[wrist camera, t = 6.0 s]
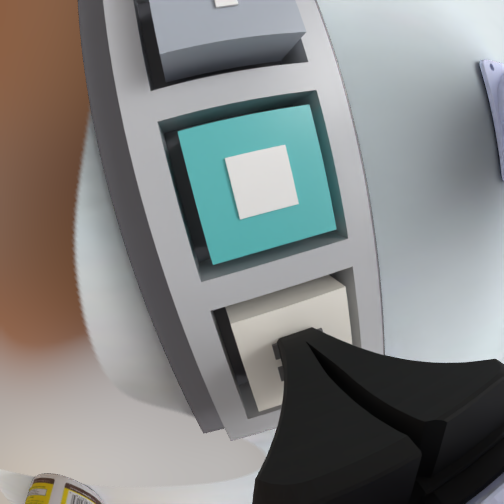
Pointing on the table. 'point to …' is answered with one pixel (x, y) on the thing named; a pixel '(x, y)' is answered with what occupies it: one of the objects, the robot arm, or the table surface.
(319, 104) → the keypad board
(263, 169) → the key teal
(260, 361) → the key cream
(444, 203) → the table surface
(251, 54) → the key slate
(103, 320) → the table surface
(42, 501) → the supplement bottle
